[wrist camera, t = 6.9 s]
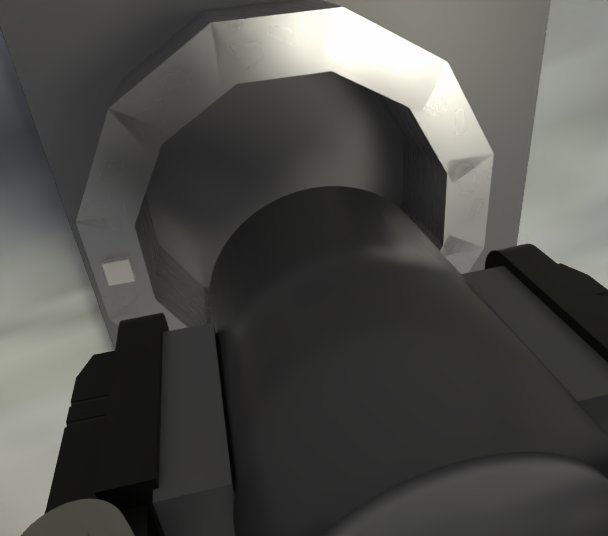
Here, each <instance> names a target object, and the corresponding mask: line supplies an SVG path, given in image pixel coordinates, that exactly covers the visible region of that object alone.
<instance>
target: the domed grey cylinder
mask: <svg viewBox="0 0 608 536" xmlns="http://www.w3.org/2000/svg"><path fill="white" fill-rule="evenodd" d="M209 305H210V314H211V323H207V324H202V325H197V326H192V327H187V328H182V329H177V330H171V331H166V332H163V347H162V386H161V426H160V465H159V488H158V489H154V490H153V505H154V508H155V510H156V513H157V516H158V518H159V521H160V524H161V526H162V529H163V532H164V534H165V536H608V363H607V362H606V361H605V360H604V359H603V358H602V357H601V356H600V355H599V354H598V353H597V352H596V351H595V350H594V349H593V348H591V347H590V346H589V345H588V344H587V343H586V342H585V341H584V340H583V339H582V338H581V337H580V336H579V335H578V334H576V333H575V332H574V331H573V330H572V329H571V328H570V327H569V326H568V325H567V324H566V323H565V322H564V321H563V320H561V319H560V318H559V317H558V316H557V315H556V314H555V313H554V312H553V311H552V310H551V309H550V308H549V307H548V306H546V305H545V304H544V303H543V302H542V301H541V300H540V299H539V298H538V297H537V296H536V295H535V294H534V293H533V292H531V291H530V290H529V289H528V288H527V287H526V286H525V285H524V284H523V283H522V282H521V281H520V280H519V279H518V278H516V277H515V276H514V275H513V274H512V273H511V272H510V271H509V270H508V269H507V268H506V267H505V266H500V267H495V268H490V269H485V270H479V271H474V272H469V273H464V274H461V273H460V272H459V271H458V270H457V269H456V268H455V267H454V266H453V265H452V264H451V263H450V261H449V260H448V259H447V258H446V257H445V256H444V255H443V254H442V253H441V252H440V251H439V249H438V248H437V247H436V246H435V245H434V244H433V243H432V242H431V241H430V240H429V238H428V237H427V236H426V235H425V234H424V233H423V232H422V231H421V230H420V229H419V228H418V226H417V225H416V224H415V223H414V222H413V221H412V220H411V219H410V218H409V217H408V216H407V215H406V214H405V213H404V212H403V211H402V210H401V209H400V208H399V207H398V206H396V205H395V204H393V203H392V202H390V201H389V200H387V199H386V198H384V197H381V196H379V195H377V194H375V193H372V192H369V191H366V190H363V189H359V188H352V187H346V186H324V187H314V188H310V189H305V190H301V191H297V192H294V193H291V194H289V195H286V196H283V197H281V198H279V199H277V200H275V201H273V202H271V203H269V204H267V205H266V206H264V207H263V208H261V209H260V210H258V211H257V212H255V213H254V214H253V215H251V216H250V217H249V218H248V219H247V220H246V221H244V222H243V223H242V224H241V225H240V226H239V227H238V229H237V230H236V231H235V232H234V233H233V234H232V235H231V237H230V238H229V240H228V241H227V242H226V244H225V245H224V247H223V248H222V250H221V252H220V254H219V256H218V258H217V260H216V263H215V266H214V269H213V272H212V275H211V281H210V286H209Z"/></svg>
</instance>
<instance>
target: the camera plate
mask: <svg viewBox="0 0 608 536" xmlns="http://www.w3.org/2000/svg"><path fill="white" fill-rule="evenodd" d="M275 1H283V0H0V28H1V30H2V33H3V36H4V39H5V42H6V44H7V47H8V50H9V53H10V56H11V59H12V61H13V64H14V67H15V70H16V73H17V76H18V78H19V81H20V84H21V87H22V90H23V92H24V95H25V98H26V101H27V104H28V107H29V109H30V112H31V115H32V118H33V121H34V123H35V126H36V129H37V132H38V135H39V138H40V140H41V143H42V146H43V149H44V152H45V155H46V157H47V160H48V163H49V166H50V169H51V171H52V174H53V177H54V180H55V183H56V186H57V188H58V191H59V194H60V197H61V200H62V202H63V205H64V208H65V211H66V214H67V217H68V219H69V222H70V225H71V228H72V231H73V234H74V236H75V239H76V242H77V245H78V248H79V250H80V253H81V256H82V259H83V262H84V265H85V267H86V270H87V273H88V276H89V279H90V281H91V284H92V287H93V290H94V293H95V296H96V298H97V301H98V304H99V307H100V310H101V313H102V315H103V318H104V321H105V324H106V327H107V329H108V332H109V335H110V338H111V341H112V344H113V346H114V349H115V347H116V341H117V334H118V327H119V326H118V325H117V324H115V323H114V322H113V321H112V320H110V319H109V317H108V314H107V311H106V308H105V305H104V302H103V299H102V296H101V294H100V291H99V288H98V285H97V282H96V279H95V276H94V273H93V271H92V268H91V265H90V262H89V259H88V256H87V253H86V250H85V248H84V245H83V242H82V239H81V236H80V233H79V230H78V227H77V225H76V219H77V216H78V212H79V209H80V206H81V202H82V199H83V195H84V192H85V188H86V185H87V181H88V178H89V174H90V171H91V167H92V164H93V160H94V157H95V153H96V150H97V146H98V143H99V139H100V136H101V132H102V129H103V125H104V122H105V118H106V115H107V111H108V108H109V105H110V103H111V101H112V98H113V96H114V94H115V92H116V89H117V87H118V85H119V83H120V80H121V79H122V78H124V77H125V76H126V75H127V74H128V73H129V72H131V71H132V70H133V69H134V68H135V67H137V66H138V65H139V64H140V63H141V62H143V61H144V60H145V59H146V58H147V57H148V56H150V55H151V54H152V53H153V52H154V51H156V50H157V49H158V48H159V47H160V46H161V45H163V44H164V43H165V42H166V41H167V40H169V39H170V38H171V37H172V36H173V35H175V34H176V33H177V32H178V31H179V30H180V29H182V28H183V27H184V26H185V25H186V24H188V23H189V22H190V21H191V20H192V19H193V18H195V17H196V16H197V15H198V14H199V13H201V12H202V11H203V10H206V9H215V8H223V7H232V6H240V5H249V4H258V3H266V2H275ZM323 1H326V2H329V3H333V4H336V5H339V6H343V7H344V8H346V9H348V10H350V11H352V12H354V13H356V14H358V15H360V16H361V17H363V18H365V19H367V20H369V21H371V22H373V23H375V24H377V25H379V26H380V27H382V28H384V29H386V30H388V31H390V32H392V33H394V34H396V35H398V36H400V37H401V38H403V39H405V40H407V41H409V42H411V43H413V44H415V45H417V46H419V47H420V48H422V49H424V50H426V51H428V52H430V53H432V54H434V55H436V56H438V57H439V58H441V59H443V60H445V61H448V63H449V65H450V67H451V69H452V71H453V73H454V75H455V77H456V79H457V81H458V83H459V85H460V87H461V89H462V91H463V93H464V95H465V97H466V99H467V101H468V103H469V105H470V107H471V109H472V111H473V113H474V115H475V117H476V119H477V121H478V123H479V125H480V127H481V129H482V131H483V133H484V135H485V137H486V139H487V141H488V143H489V145H490V147H491V149H492V151H493V153H494V156H493V166H492V175H491V185H490V195H489V205H488V215H487V224H486V234H485V244H484V249H483V251H482V252H481V254H480V255H479V257H478V258H477V260H476V261H475V263H474V264H473V266H472V268H471V269H470V271H469V272H474V271H479V270H484V269H485V261H486V257H487V255H488V253H489V252H491V251H493V250H498V249H503V248H508V247H513V246H517V238H518V231H519V224H520V217H521V210H522V202H523V195H524V188H525V181H526V174H527V166H528V159H529V152H530V145H531V137H532V130H533V123H534V116H535V109H536V101H537V94H538V87H539V80H540V73H541V65H542V58H543V51H544V44H545V36H546V29H547V22H548V15H549V8H550V0H323ZM324 186H346V187H352V188H359V189H363V190H366V191H369V192H372V193H375V194H377V195H379V196H381V197H384V198H386V199H387V200H389V201H390V202H392V203H393V204H395V205H396V206H398V207H400V206H401V204H402V202H403V137H402V136H401V134H400V132H399V131H398V129H397V127H396V126H395V124H394V122H393V121H392V119H391V117H390V116H389V114H388V112H387V111H386V109H385V107H384V106H383V104H382V103H381V101H380V99H379V98H378V96H377V94H376V93H375V91H373V90H371V89H369V88H367V87H364V86H362V85H360V84H358V83H356V82H354V81H352V80H350V79H347V78H345V77H343V76H341V75H339V74H337V73H335V72H332V71H328V72H320V73H313V74H306V75H298V76H291V77H283V78H276V79H269V80H261V81H254V82H247V83H239V84H236V85H235V86H233V87H232V88H231V89H230V90H228V91H227V92H226V93H225V94H223V95H222V96H221V97H220V98H218V99H217V100H216V101H215V102H213V103H212V104H211V105H210V106H209V107H207V108H206V109H205V110H204V111H202V112H201V113H200V114H199V115H197V116H196V117H195V118H194V119H192V120H191V121H190V122H189V123H188V124H186V125H185V126H184V127H183V128H181V129H180V130H179V131H178V132H176V133H175V134H174V135H173V136H171V137H170V138H169V139H168V140H166V141H165V142H164V143H163V144H162V145H161V148H160V151H159V154H158V157H157V160H156V163H155V166H154V169H153V172H152V175H151V178H150V181H149V184H148V187H147V190H146V193H145V195H146V199H147V202H148V206H149V210H150V214H151V218H152V221H153V225H154V229H155V233H156V237H157V240H158V244H159V245H160V246H161V247H162V248H163V249H164V250H165V251H167V252H168V253H169V254H170V255H171V256H172V257H173V258H174V259H175V260H176V261H177V262H178V263H179V264H180V265H181V266H182V267H183V268H184V269H185V270H187V271H188V272H189V273H190V274H191V275H192V276H193V277H194V278H195V279H196V280H197V281H198V282H199V283H200V284H201V285H202V286H203V287H206V288H209V286H210V281H211V275H212V272H213V269H214V266H215V263H216V260H217V258H218V256H219V254H220V252H221V250H222V248H223V247H224V245H225V244H226V242H227V241H228V240H229V238H230V237H231V235H232V234H233V233H234V232H235V231H236V230H237V229H238V227H239V226H240V225H241V224H242V223H243V222H244V221H246V220H247V219H248V218H249V217H250V216H251V215H253V214H254V213H255V212H257V211H258V210H260V209H261V208H263V207H264V206H266V205H267V204H269V203H271V202H273V201H275V200H277V199H279V198H281V197H283V196H286V195H289V194H291V193H294V192H297V191H301V190H305V189H310V188H314V187H324ZM469 272H468V273H469Z"/></svg>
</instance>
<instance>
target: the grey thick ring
mask: <svg viewBox="0 0 608 536" xmlns="http://www.w3.org/2000/svg"><path fill="white" fill-rule="evenodd" d="M328 71H332V72H335V73H337V74H339V75H341V76H343V77H345V78H347V79H350V80H352V81H354V82H356V83H358V84H360V85H362V86H364V87H367V88H369V89H371V90H373V91H375V93H376V94H377V96H378V98H379V99H380V101H381V103H382V104H383V106H384V107H385V109H386V111H387V112H388V114H389V116H390V117H391V119H392V121H393V122H394V124H395V126H396V127H397V129H398V131H399V132H400V134H401V136H402V137H403V202H402V204H401V206H400V207H399V208H400V209H401V210H402V211H403V212H404V213H405V214H406V215H407V216H408V217H409V218H410V219H411V220H412V221H413V222H414V223H415V224H416V225H417V226H418V228H419V229H420V230H421V231H422V232H423V233H424V234H425V235H426V236H427V237H428V238H429V240H430V241H431V242H432V243H433V244H434V245H435V246H436V247H437V248H438V249H439V251H440V252H441V253H442V254H443V255H444V256H445V257H446V258H447V259H448V260H449V261H450V263H451V264H452V265H453V266H454V267H455V268H456V269H457V270H458V271H459V272H460V273H461V274H464V273H468V272H469V271H470V269H471V268H472V266H473V264H474V263H475V261H476V260H477V258H478V257H479V255H480V254H481V252H482V251H483V249H484V244H485V234H486V224H487V215H488V205H489V195H490V185H491V175H492V166H493V156H494V153H493V151H492V149H491V147H490V145H489V143H488V141H487V139H486V137H485V135H484V133H483V131H482V129H481V127H480V125H479V123H478V121H477V119H476V117H475V115H474V113H473V111H472V109H471V107H470V105H469V103H468V101H467V99H466V97H465V95H464V93H463V91H462V89H461V87H460V85H459V83H458V81H457V79H456V77H455V75H454V73H453V71H452V69H451V67H450V65H449V63H448V61H445V60H443V59H441V58H439V57H438V56H436V55H434V54H432V53H430V52H428V51H426V50H424V49H422V48H420V47H419V46H417V45H415V44H413V43H411V42H409V41H407V40H405V39H403V38H401V37H400V36H398V35H396V34H394V33H392V32H390V31H388V30H386V29H384V28H382V27H380V26H379V25H377V24H375V23H373V22H371V21H369V20H367V19H365V18H363V17H361V16H360V15H358V14H356V13H354V12H352V11H350V10H348V9H346V8H344V7H343V6H339V5H336V4H333V3H329V2H326V1H323V0H283V1H275V2H266V3H258V4H249V5H240V6H232V7H223V8H215V9H206V10H203V11H202V12H201V13H199V14H198V15H197V16H196V17H195V18H193V19H192V20H191V21H190V22H189V23H188V24H186V25H185V26H184V27H183V28H182V29H180V30H179V31H178V32H177V33H176V34H175V35H173V36H172V37H171V38H170V39H169V40H167V41H166V42H165V43H164V44H163V45H161V46H160V47H159V48H158V49H157V50H156V51H154V52H153V53H152V54H151V55H150V56H148V57H147V58H146V59H145V60H144V61H143V62H141V63H140V64H139V65H138V66H137V67H135V68H134V69H133V70H132V71H131V72H129V73H128V74H127V75H126V76H125V77H124V78H122V79H121V80H120V83H119V85H118V87H117V89H116V92H115V94H114V96H113V98H112V101H111V103H110V105H109V108H108V111H107V115H106V118H105V122H104V125H103V129H102V132H101V136H100V139H99V143H98V146H97V150H96V153H95V157H94V160H93V164H92V167H91V171H90V174H89V178H88V181H87V185H86V188H85V192H84V195H83V199H82V202H81V206H80V209H79V212H78V216H77V219H76V225H77V227H78V230H79V233H80V236H81V239H82V242H83V245H84V248H85V250H86V253H87V256H88V259H89V262H90V265H91V268H92V271H93V273H94V276H95V279H96V282H97V285H98V288H99V291H100V294H101V296H102V299H103V302H104V305H105V308H106V311H107V314H108V317H109V319H110V320H112V321H113V322H114V323H115V324H117V325H118V326H119V323H120V321H121V320H126V319H131V318H137V317H142V316H147V315H152V314H158V313H163V314H164V315H165V318H166V320H167V324H168V327H169V331H171V330H177V329H182V328H187V327H192V326H197V325H202V324H207V323H211V314H210V305H209V288H206V287H203V286H202V285H201V284H200V283H199V282H198V281H197V280H196V279H195V278H194V277H193V276H192V275H191V274H190V273H189V272H188V271H187V270H185V269H184V268H183V267H182V266H181V265H180V264H179V263H178V262H177V261H176V260H175V259H174V258H173V257H172V256H171V255H170V254H169V253H168V252H167V251H165V250H164V249H163V248H162V247H161V246H160V245H159V244H158V240H157V237H156V233H155V229H154V225H153V221H152V218H151V214H150V210H149V206H148V202H147V199H146V195H145V193H146V190H147V187H148V184H149V181H150V178H151V175H152V172H153V169H154V166H155V163H156V160H157V157H158V154H159V151H160V148H161V145H162V144H163V143H164V142H165V141H166V140H168V139H169V138H170V137H171V136H173V135H174V134H175V133H176V132H178V131H179V130H180V129H181V128H183V127H184V126H185V125H186V124H188V123H189V122H190V121H191V120H192V119H194V118H195V117H196V116H197V115H199V114H200V113H201V112H202V111H204V110H205V109H206V108H207V107H209V106H210V105H211V104H212V103H213V102H215V101H216V100H217V99H218V98H220V97H221V96H222V95H223V94H225V93H226V92H227V91H228V90H230V89H231V88H232V87H233V86H235V85H236V84H239V83H247V82H254V81H261V80H269V79H276V78H283V77H291V76H298V75H306V74H313V73H320V72H328Z"/></svg>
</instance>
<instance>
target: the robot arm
mask: <svg viewBox="0 0 608 536" xmlns="http://www.w3.org/2000/svg"><path fill="white" fill-rule="evenodd" d="M500 266H505V267H506V268H507V269H508V270H509V271H510V272H511V273H512V274H513V275H514V276H515V277H516V278H518V279H519V280H520V281H521V282H522V283H523V284H524V285H525V286H526V287H527V288H528V289H529V290H530V291H531V292H533V293H534V294H535V295H536V296H537V297H538V298H539V299H540V300H541V301H542V302H543V303H544V304H545V305H546V306H548V307H549V308H550V309H551V310H552V311H553V312H554V313H555V314H556V315H557V316H558V317H559V318H560V319H561V320H563V321H564V322H565V323H566V324H567V325H568V326H569V327H570V328H571V329H572V330H573V331H574V332H575V333H576V334H578V335H579V336H580V337H581V338H582V339H583V340H584V341H585V342H586V343H587V344H588V345H589V346H590V347H591V348H593V349H594V350H595V351H596V352H597V353H598V354H599V355H600V356H601V357H602V358H603V359H604V360H605V361H606V362H607V363H608V290H607V289H606V288H605V287H603V286H602V285H601V284H599V283H598V282H597V281H596V280H594V279H593V278H592V277H590V276H589V275H587V274H585V273H582V272H580V271H578V270H575V269H573V268H571V267H568V266H566V265H563V264H561V263H560V264H557V263H556V262H554V261H553V260H552V259H551V258H549V257H548V256H547V255H546V254H544V253H543V252H542V251H541V250H539V249H538V248H537V247H535V246H534V245H532V244H524V245H519V246H513V247H508V248H503V249H498V250H493V251H491V252H489V253H488V255H487V257H486V261H485V269H490V268H495V267H500ZM485 269H484V270H485ZM166 331H169V327H168V324H167V320H166V318H165V315H164V314H163V313H158V314H152V315H147V316H142V317H137V318H131V319H126V320H121V321H120V323H119V327H118V334H117V341H116V347H115V351H111V352H106V353H101V354H96V355H93V356H92V358H91V359H90V360H89V362H88V363H87V364H86V366H85V367H84V368H83V370H82V371H81V372H80V374H79V375H78V376H77V378H76V381H75V386H74V390H73V394H72V399H71V407H69V412H68V416H67V420H66V424H67V427H66V428H65V429H64V434H63V438H62V442H61V447H60V451H59V455H58V460H57V464H56V468H55V473H54V477H53V481H52V486H51V490H50V495H49V499H48V503H47V508H46V511H45V514H44V515H43V516H41V517H40V518H39V519H37V520H36V521H35V522H34V523H33V524H31V525H30V526H29V527H28V528H27V529H26V530H25V531H24V532H23V534H22V535H21V536H165V534H164V532H163V529H162V526H161V524H160V521H159V518H158V516H157V513H156V510H155V508H154V505H153V490H154V489H158V488H159V465H160V426H161V386H162V347H163V332H166Z"/></svg>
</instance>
